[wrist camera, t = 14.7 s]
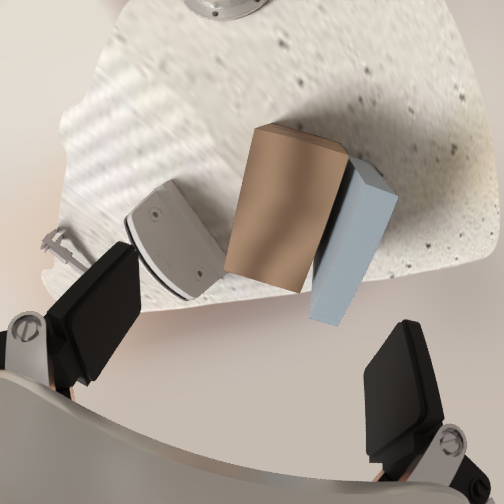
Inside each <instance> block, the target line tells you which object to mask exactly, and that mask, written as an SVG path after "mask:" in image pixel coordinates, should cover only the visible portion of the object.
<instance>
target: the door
mask: <svg viewBox="0 0 504 504" xmlns="http://www.w3.org/2000/svg"><path fill="white" fill-rule="evenodd" d="M398 197H399V196H398V195H397V194H396V193H395V191H394V190H393V189H392V188H391V187H390V186H389V185H388V183H387V182H386V181H385V180H384V179H383V178H382V177H381V176H380V174H379V173H378V172H377V171H376V170H375V169H374V168H373V167H372V166H371V165H370V164H369V162H366V161H363V160H361V159H358V158H355V157H352V156H349V158H348V161H347V164H346V167H345V170H344V174H343V177H342V180H341V183H340V186H339V189H338V192H337V195H336V197H335V200H334V203H333V206H332V209H331V212H330V215H329V218H328V220H327V223H326V226H325V229H324V231H323V234H322V237H321V240H320V242H319V245H318V248H317V250H316V253H315V256H314V261H313V279H312V295H311V310H310V319H313V320H316V321H320V322H324V323H328V324H331V325H334V326H338V325H339V323H340V321H341V319H342V318H343V316H344V314H345V312H346V310H347V308H348V306H349V304H350V303H351V301H352V299H353V297H354V295H355V293H356V291H357V289H358V287H359V285H360V283H361V281H362V279H363V277H364V275H365V273H366V271H367V269H368V267H369V264H370V262H371V260H372V258H373V256H374V254H375V252H376V249H377V247H378V245H379V243H380V240H381V238H382V236H383V234H384V231H385V229H386V227H387V224H388V222H389V220H390V217H391V215H392V212H393V210H394V207H395V205H396V202H397V200H398Z"/></svg>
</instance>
